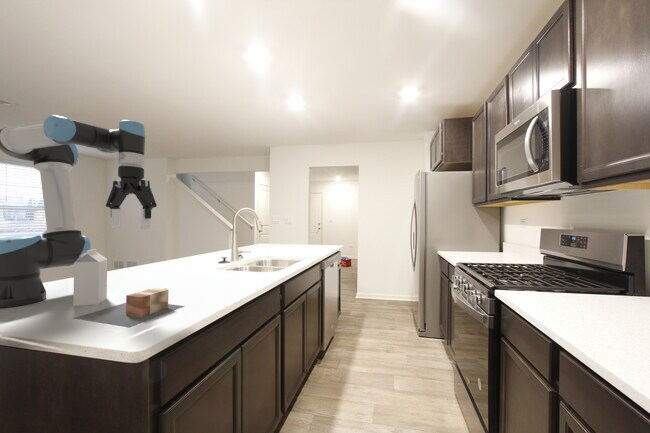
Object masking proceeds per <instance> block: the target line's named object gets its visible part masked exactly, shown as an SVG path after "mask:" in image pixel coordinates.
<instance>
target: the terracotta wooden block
mask: <svg viewBox="0 0 650 433" xmlns="http://www.w3.org/2000/svg"><path fill="white" fill-rule="evenodd" d="M148 289H149V288H148ZM148 289H145V290H142V291H137V292H134V293H131V294H127V295H126V298H125V299H126V301H125V303H126V315H129V316H136V317H143V316H146V315H149V314H152V313H154V312H157V311H160V310H163V309H165V308H168V304H169V288H157V287H153V288H150V289H149V290H148Z"/></svg>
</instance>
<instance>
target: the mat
mask: <svg viewBox="0 0 650 433" xmlns="http://www.w3.org/2000/svg"><path fill="white" fill-rule="evenodd" d="M184 307H185V305H179V304H171V303H168V308H165V309H163V310H160V311H157V312H154V313H152V314H149V315H146V316H143V317H136V316H129V315H126V302H123V303H119V304H116V305H113V306H110V307H106V308H103V309H100V310H95V311H92V312H89V313H85V314H82V315H78V316H76V317H73V319H76V320H80V321H88V322H93V323H99V324H100V323H101V324H106V325H111V326H118V327H124V328H132V327H135V326H137V325H139V324H142V323H144V322H145V323H146V322H147V321H150V320H153V319H156V318H158V317H161V316H163V315H166V314H169V313H172V312H173V311H176V310H179V309H181V308H184Z"/></svg>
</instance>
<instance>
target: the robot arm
mask: <svg viewBox="0 0 650 433" xmlns="http://www.w3.org/2000/svg"><path fill="white" fill-rule="evenodd" d="M117 128H118V129H108V128H105V127H101V126H98V125H94V124H89V123H86V122H83V121H79V120H76V119H72V118H69V117H66V116H62V115H61V116H60V115H56V114H51V115H48V116H47V118H45V119H44V121H43V123H40V124H32V125H27V126H23V127H22V126H17V125H10V126H5V127H3V128H0V151H1V152H2V153H4V154H5V155H7V156H9V157H12V158H14V159H16V160H17V159H18V160H21V161H22V160H23V161H28V162H29V161H30V162H33V168H34V169H35V170H37V171H38V172H39V174H40V182H41V192H42V199H43V200H42V201H43V206H44V207H43V208H44V215H45V216H44V217H45V224H46V230H45V231H44V232H43V233H42V234H36V233H35V234H34V233H33V234H31V233H30V234H19V235H13V236H11V235H10V236H5V237H1V238H0V309H1V308H11V307H19V306H25V305H30V304H34V303H38V302H41V301H43V300H45V299H47V290H46V288H45V285H44V284H43V281H42V280H41V270H43V269H45V270H46V269H50V268H52V269H53V268H59V267H60V268H61V267H71V266H74V263H75V262H76V261H77V260H79V259H80V255H82V254H83V253H87V250H91V241H90V239H89V237H88V236H86V235H82V230H81V229H79V228H78V227H76V226H77V225H76V219H75V212H74V210H75V209H74V203H73V196H72V195H73V194H72V188H71V182H70V172H71V171H72V170H73V169H74V168H73V167H75V166H76V165H77V164H78V159H79V151H78V147H77V146H76V145H78V146H83V147H88V148H92V149H97V150H98V151H99V152H102V153H109V154H112V153H118V163H117V164H118V165H119V166H118V167H117V176H118V177H119V178H120V180H113V181H112V187H111V191H110V193H109V196H108V198H107V201H106V204H105V207H107V208H109V209H110V218H111V221H110V224H111V225H110V227H111V228H113V229H114V228H116V229H117V228H121V215H122V214H121V212H122V210H121V205H122V203H123V202H124V201H125V200H126V197H127V196H129V195H131V194H132V195H135V197H136V198H137V200H138V202H139V203H140V204H141V206H142V207H141V212H140V214H141V217H140V219H141V220H140V222H141V224H140V229H142V230H143V229H144V230H146V229H151V218H152V210H153V208H157V201H156V199H155V197H154V195H153V192H152V188H151V185H150V183H151V182H150V180H147V179H144V178H145V169H144V167H145V146H146V144H145V143H146V134H145V133H146V132H145V125H144V124H142V122H139V121H137V120H129V119H122V120H120V121H119V123H118V127H117Z"/></svg>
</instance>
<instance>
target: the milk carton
mask: <svg viewBox="0 0 650 433" xmlns="http://www.w3.org/2000/svg"><path fill="white" fill-rule="evenodd" d="M107 292H108V258H107V257H105V256H104V255H102V254H101V253H100V252H98V251H97V248H93V249H91V248H90V250H87V253H83V254H82V255H80V259H79V260H77V261H76V262H75V263H74V265H73V298H72V299H73V301H72V302H73V305H72V306H73V307H75V306H76V307H77V306H91V305H100V304H101V303H102V302H104V301H105V300H107V298H108V295H107V294H108V293H107Z"/></svg>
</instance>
